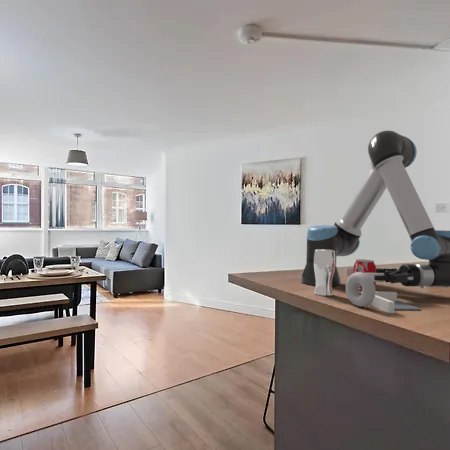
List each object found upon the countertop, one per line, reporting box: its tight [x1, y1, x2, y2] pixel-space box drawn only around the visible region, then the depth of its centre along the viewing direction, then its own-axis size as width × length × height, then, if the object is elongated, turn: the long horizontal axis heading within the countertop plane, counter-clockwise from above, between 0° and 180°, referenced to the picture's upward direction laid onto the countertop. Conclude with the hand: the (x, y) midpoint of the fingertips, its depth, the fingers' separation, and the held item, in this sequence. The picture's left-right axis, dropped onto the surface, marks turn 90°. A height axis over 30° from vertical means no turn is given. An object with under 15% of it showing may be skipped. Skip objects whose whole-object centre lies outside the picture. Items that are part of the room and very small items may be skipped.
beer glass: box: [313, 249, 335, 297], centre depth 115 cm, size 7×7×15 cm
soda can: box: [353, 258, 377, 295], centre depth 115 cm, size 7×7×12 cm
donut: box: [345, 272, 376, 308], centre depth 99 cm, size 10×4×10 cm, turn 24°
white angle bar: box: [362, 290, 422, 314], centre depth 100 cm, size 12×15×3 cm
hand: (354, 274), depth 114 cm, fingers open, 12 cm apart
